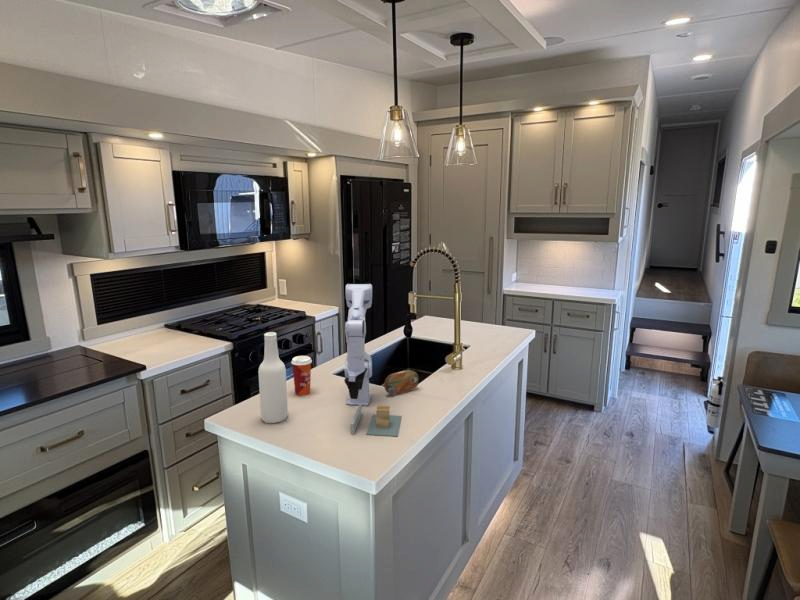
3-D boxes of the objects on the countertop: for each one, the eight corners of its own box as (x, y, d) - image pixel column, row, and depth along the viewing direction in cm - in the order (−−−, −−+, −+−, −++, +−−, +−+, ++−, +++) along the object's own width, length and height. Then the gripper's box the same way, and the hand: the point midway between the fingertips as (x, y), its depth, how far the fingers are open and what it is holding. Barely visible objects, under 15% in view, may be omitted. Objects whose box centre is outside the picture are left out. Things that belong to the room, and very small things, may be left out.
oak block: (377, 421, 151) (377, 404, 150) (389, 421, 151) (389, 405, 150) (376, 427, 148) (376, 410, 146) (388, 427, 147) (388, 410, 146)
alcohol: (257, 416, 155) (252, 332, 149) (282, 410, 160) (278, 328, 154) (266, 426, 148) (261, 338, 142) (292, 419, 153) (288, 334, 147)
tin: (387, 398, 171) (387, 377, 169) (382, 395, 174) (382, 374, 172) (419, 389, 179) (419, 369, 178) (414, 386, 182) (414, 367, 180)
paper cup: (306, 398, 170) (305, 362, 167) (288, 395, 173) (287, 360, 170) (316, 390, 177) (315, 356, 175) (299, 387, 180) (298, 354, 177)
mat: (372, 415, 157) (372, 414, 157) (401, 416, 156) (401, 415, 156) (366, 434, 143) (366, 434, 143) (397, 436, 142) (397, 435, 142)
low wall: (358, 414, 157) (358, 405, 156) (361, 414, 157) (361, 405, 156) (350, 434, 144) (350, 423, 143) (353, 434, 143) (353, 424, 143)
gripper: (348, 348, 156) (349, 384, 159) (338, 362, 142) (339, 402, 145) (368, 348, 155) (368, 385, 158) (361, 362, 141) (361, 403, 144)
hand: (356, 393), depth 151 cm, fingers open, 7 cm apart
